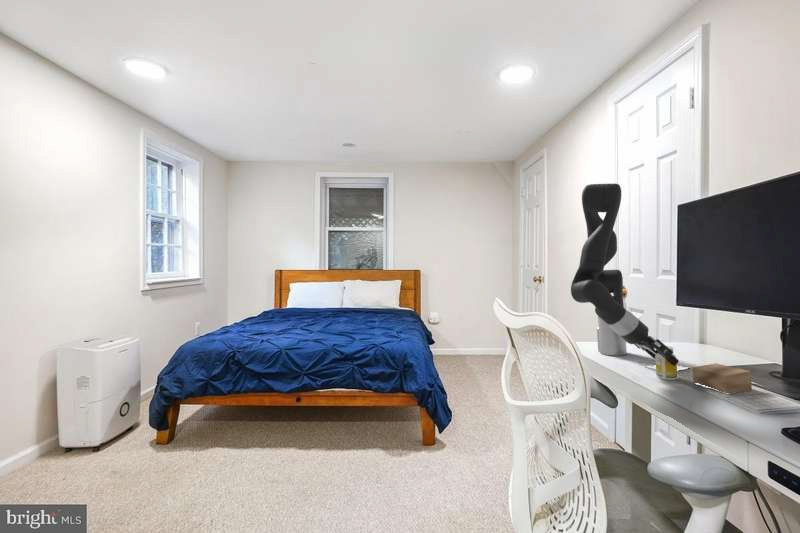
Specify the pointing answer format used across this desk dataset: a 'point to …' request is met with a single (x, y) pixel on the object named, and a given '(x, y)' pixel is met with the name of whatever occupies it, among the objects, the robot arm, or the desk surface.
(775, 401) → the desk surface
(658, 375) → the supplement bottle
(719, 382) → the walnut block
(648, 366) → the page
